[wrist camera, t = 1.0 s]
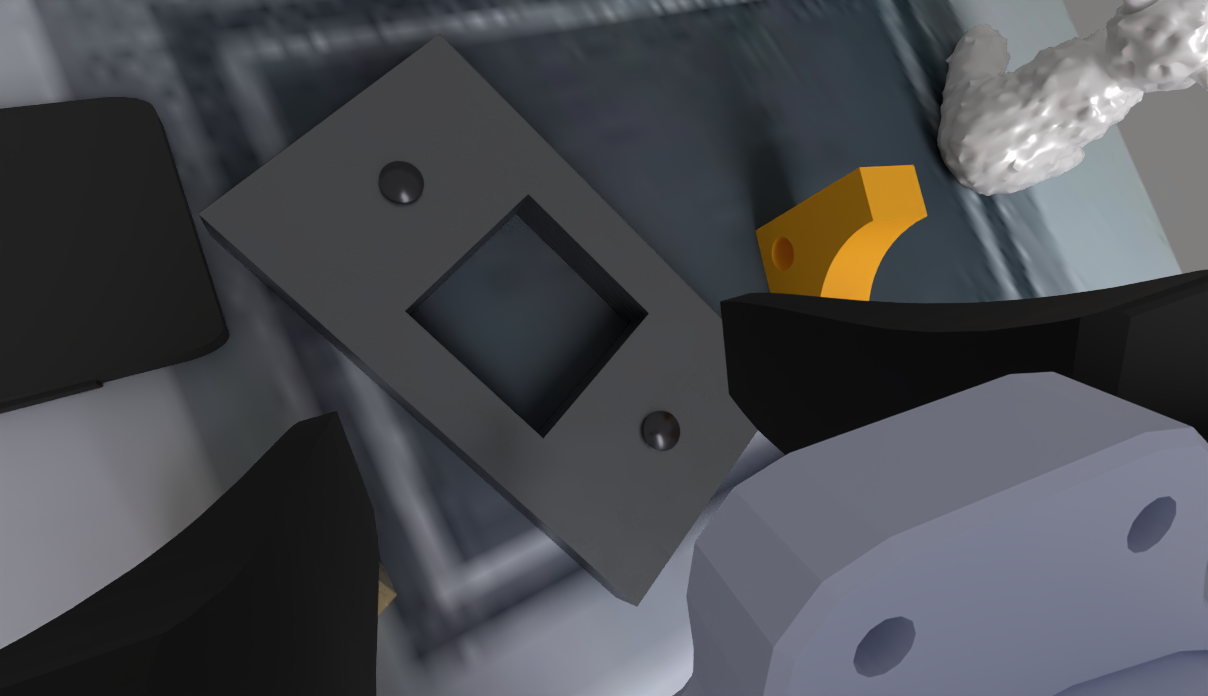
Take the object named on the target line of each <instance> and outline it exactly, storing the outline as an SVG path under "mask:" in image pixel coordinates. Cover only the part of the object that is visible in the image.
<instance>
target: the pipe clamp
mask: <svg viewBox="0 0 1208 696" xmlns="http://www.w3.org/2000/svg"><path fill="white" fill-rule="evenodd" d="M926 216H927V213H926V209H925V205H924V201H923V198H922V194H921V190H920V187H919V183H918V179H917V176H916V172H915V168H914V165H903V166H881V167H859V168H858V169H856V170H854V171H853V172H851V173H849V174H848V175H846V176H845V177H843V178H841V179H840V180H838V181H836V182H835V183H833V184H831V185H830V186H828V187H826V188H825V189H823V190H822V191H820V192H818V193H817V194H815V195H813V196H812V197H810V198H808V199H807V200H805V201H803V202H802V203H800V204H798V205H797V206H795V207H794V208H792V209H790V210H789V211H787V212H785V213H784V214H782V215H780V216H779V217H777V218H775V219H774V220H772V221H770V222H769V223H767V224H766V225H764V226H762V227H761V228H759V229H757V230H756V235H757V239H758V243H759V248H760V252H761V256H762V260H763V264H764V268H765V273H766V277H767V281H768V285H769V289H770V293H784V294H797V295H808V296H818V297H828V298H839V299H850V300H862V301H869V297H870V291H871V286H872V283H873V279H874V276H875V273H876V271H877V268H878V266H879V264H880V262H881V260H882V258H883V256H884V255H885V253H886V251H887V250H888V248H889V247H890V246H891V244H892V243H893V242H894V241H895V240H896V239H897V237H898V236H899V235H900V234H901V233H902V232H904V231H905V230H906V229H907V228H908V227H910V226H911V225H912V224H914V223H915V222H917V221H919V220H920V219H922V218H924V217H926Z"/></svg>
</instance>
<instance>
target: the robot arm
mask: <svg viewBox="0 0 1208 696" xmlns="http://www.w3.org/2000/svg"><path fill="white" fill-rule="evenodd" d="M720 305H721V316H722V326H723V337H724V347H725V358H726V369H727V379H728V390H729V395H730V397H731V398H732V399H733V400H734V402H735V403H736V404H737V406H738V407H739V408H740V409H741V411H742V412H743V413H744V414H745V416H746V417H747V418H748V419H749V420H750V422H751V423H752V424H753V425H754V426H755V427H756V429H758V430H759V431H760V432H761V433H762V434H763V435H764V436H765V437H766V438H767V439H768V440H769V441H771V442H772V443H773V444H774V445H775V446H776V447H777V448H778V449H779V450H781V451H782V452H783V453H784V454H785V456H784V457H782V458H780V459H779V460H777V461H776V462H774V463H772V464H771V465H769V466H768V467H766V468H765V469H763V470H761V471H760V472H758V473H757V474H755V475H753V476H752V477H750V478H749V479H747V480H745V481H744V482H742V483H741V484H739V485H737V486H736V487H734V488H733V489H732V490H731V492H730V493H729V495H728V496H727V498H726V499H725V500H724V502H723V503H722V505H721V506H720V507H719V509H718V510H717V512H716V513H715V514H714V516H713V517H712V519H711V520H710V521H709V523H708V524H707V526H706V527H705V529H704V530H703V531H702V533H701V534H700V536H699V537H698V538H697V540H696V541H695V545H694V552H693V558H692V564H691V571H690V577H689V583H688V590H687V596H686V597H687V604H688V611H689V618H690V625H691V632H692V638H693V645H694V665H693V674H692V676H691V677H690V679H689V680H688V682H687V683H686V685H685V686H684V687H683V688H682V689H681V690H680V691H678V692H677V693H676V694H674V695H673V696H1208V270H1200V271H1195V272H1190V273H1185V274H1179V275H1174V276H1169V277H1164V278H1159V279H1154V280H1149V281H1144V282H1139V283H1134V284H1129V285H1124V286H1119V287H1113V288H1107V289H1101V290H1094V291H1087V292H1080V293H1073V294H1066V295H1059V296H1050V297H1041V298H1032V299H1020V300H1007V301H995V302H978V303H927V304H923V303H894V302H877V301H862V300H850V299H839V298H828V297H818V296H808V295H797V294H784V293H750V294H745V295H742V296H738V297H735V298H731V299H728V300H724V301H721V302H720ZM378 596H379V549H378V540H377V532H376V524H375V516H374V509H373V507H372V504H371V501H370V499H369V496H368V493H367V491H366V488H365V485H364V483H363V480H362V477H361V475H360V472H359V469H358V467H357V464H356V461H355V459H354V456H353V453H352V451H351V448H350V445H349V443H348V440H347V437H346V435H345V432H344V429H343V427H342V424H341V421H340V419H339V416H338V413H337V411H335V412H331V413H328V414H324V415H321V416H317V417H314V418H310V419H307V420H303V421H300V422H298V423H296V424H295V425H294V426H292V427H291V428H290V429H289V430H288V431H287V432H286V433H285V434H284V435H283V436H282V437H281V438H280V439H279V440H278V441H277V442H276V443H275V444H274V445H273V446H272V447H271V448H270V449H269V450H268V451H267V452H266V453H265V454H264V455H263V456H262V457H261V458H260V459H259V460H258V461H257V462H256V463H255V464H254V465H253V466H252V467H251V469H250V470H249V471H248V472H247V473H246V474H245V475H244V476H243V477H242V478H241V479H240V480H239V481H238V482H236V483H235V484H234V485H233V486H232V487H231V488H230V489H229V490H228V491H227V492H226V493H225V494H223V495H222V496H221V497H220V498H219V499H218V500H217V501H216V502H215V503H214V504H213V505H212V506H211V507H209V508H208V509H207V510H206V511H205V512H204V513H203V514H202V515H201V516H200V517H199V518H197V519H196V520H195V521H194V522H193V523H191V524H190V525H189V526H188V527H187V528H185V529H184V530H183V531H182V532H181V533H179V534H178V535H177V536H176V537H174V538H173V539H172V540H170V541H169V542H168V543H166V544H165V545H164V546H163V547H161V548H160V549H159V550H157V551H156V552H155V553H153V554H152V555H151V556H149V557H148V558H147V559H145V560H144V561H143V562H141V563H140V564H138V565H137V566H136V567H134V568H133V569H131V570H130V571H128V572H127V573H125V574H124V575H122V576H121V577H119V578H118V579H116V580H114V581H113V582H111V583H110V584H108V585H107V586H105V587H104V588H102V589H101V590H99V591H98V592H96V593H95V594H93V595H92V596H90V597H89V598H87V599H85V600H84V601H82V602H81V603H79V604H78V605H76V606H75V607H73V608H72V609H70V610H68V611H67V612H65V613H63V614H62V615H60V616H58V617H57V618H55V619H53V620H52V621H50V622H48V623H46V624H45V625H43V626H41V627H40V628H38V629H36V630H34V631H33V632H31V633H29V634H28V635H26V636H24V637H22V638H20V639H19V640H17V641H15V642H13V643H11V644H9V645H8V646H6V647H4V648H2V649H0V696H376V653H377V624H378Z"/></svg>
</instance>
